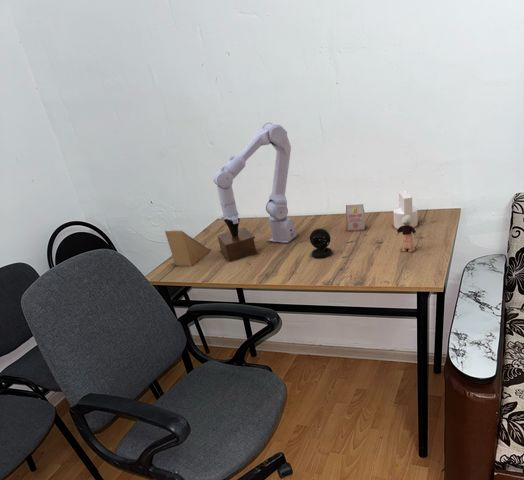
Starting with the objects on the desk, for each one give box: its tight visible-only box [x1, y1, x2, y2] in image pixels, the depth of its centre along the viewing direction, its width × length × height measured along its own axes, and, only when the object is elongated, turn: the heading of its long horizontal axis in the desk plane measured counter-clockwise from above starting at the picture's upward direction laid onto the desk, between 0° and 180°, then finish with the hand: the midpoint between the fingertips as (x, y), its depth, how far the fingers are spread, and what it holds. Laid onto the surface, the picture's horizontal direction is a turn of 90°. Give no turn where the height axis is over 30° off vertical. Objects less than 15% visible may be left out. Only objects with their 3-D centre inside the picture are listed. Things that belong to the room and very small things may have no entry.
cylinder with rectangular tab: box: [393, 190, 419, 230], centre depth 183 cm, size 9×9×12 cm
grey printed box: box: [345, 203, 366, 232], centre depth 189 cm, size 4×7×10 cm, turn 70°
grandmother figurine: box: [395, 215, 418, 253], centre depth 164 cm, size 8×4×13 cm, turn 65°
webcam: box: [309, 228, 333, 259], centre depth 175 cm, size 8×8×10 cm
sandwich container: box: [164, 229, 211, 267], centre depth 194 cm, size 9×15×15 cm, turn 154°
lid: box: [216, 226, 256, 247], centre depth 191 cm, size 12×14×1 cm
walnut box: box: [217, 237, 257, 263], centre depth 192 cm, size 12×14×6 cm
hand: (235, 236), depth 190 cm, fingers closed, pressing on lid
